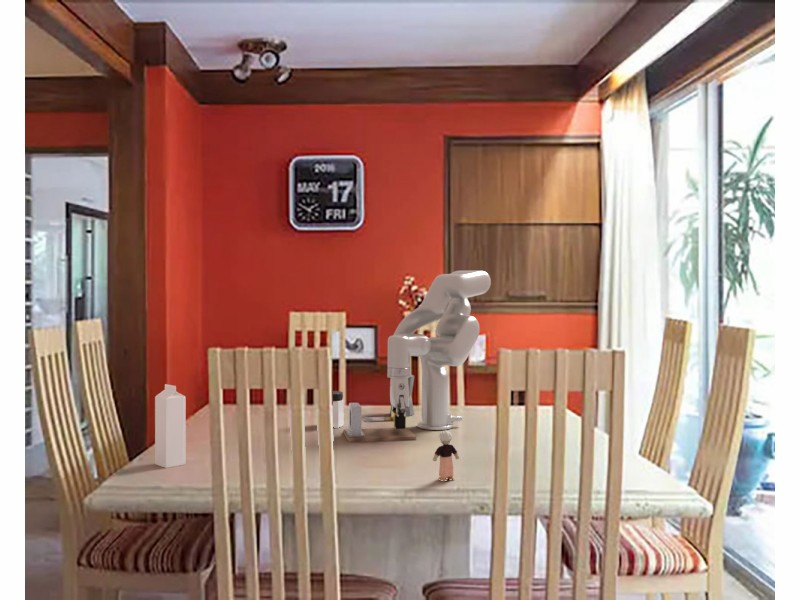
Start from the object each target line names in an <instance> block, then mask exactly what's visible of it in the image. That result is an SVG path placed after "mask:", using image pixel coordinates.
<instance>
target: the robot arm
mask: <svg viewBox="0 0 800 600" xmlns="http://www.w3.org/2000/svg"><path fill="white" fill-rule="evenodd" d="M491 281H492V280H491V277H490V274H489V273H488V272H486V271H484V270H473V269H472V270H455V271H452V272H451V273H442V274H439V275H437V276H436V277H435V278H433V281H432V283H431V285H430V287H429V288H428V290H427V293H426V295H425V296H424V298H423V300H422V302H421V304H420V305H419V306H418V307H417V308H415V309H413V310H412V311H411V312H410V313H409V314H407V316H404V317H403V319H402V320H401V321H400V322H399V323H398V326H397V327H396V328H395V331H394V333H393V335H389V337H388V338H387V373H386V375H387V378H390V381H389V397H390V398H389V401H390V402H389V403H390V405H392V411H396V414H397V416H396V429H405V428H406V427H405V419H406V420H407V416H405V407H406V408H408V407H409V385H408V378H409V377H410V375H411V357H420V358H419V359H420V365H421V421H418V422H417V424H416V427H417V428H419V429H422V430H427V431H428V430H429V431H442V430H443V431H447V430H450V429H453V427H454V424H453V423H454V422H456V423H457V422H459V423H461V422H462V421H463V416H462V415H452V414H451V413H450V376H449V371H448V370H447V367H446V366H449V367H460V366H461V365H463V364H464V363H465V361H467V359H468V357H469V355H470V353H471V351H472V350H473V348H474V346H475V344H476V342H477V340H478V339H479V335H480V323H479V320H478V319H477V318H476V317H475V316H472V315H471V311H472V307H471V303H470V301H469V299H468V298H472V297H476V296H480V295H481V296H482V295H484V294H486V293H487V292H488V291H489V289H490V288H491V284H492V282H491ZM437 321H438V322H437ZM434 322H437V324H436V327H435V335H437V336H432V337H428V336H427V335H424V334H419V333H415V332H416V331H417V330H420V329H421V328H422V327H424V326H428V325H431V324H432V323H434ZM398 406H399V407H398ZM398 410H399V411H398Z"/></svg>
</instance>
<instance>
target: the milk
mask: <svg viewBox="0 0 800 600" xmlns="http://www.w3.org/2000/svg"><path fill="white" fill-rule="evenodd" d="M186 406H187V405H186V396H185V395H184V394H182V393H180V392H178V391H177V386H176V385H172V384H167V383H165V384H164V389H163V390H162V391H161V392H160V393H158V394H156V396H155V397H154V431H155V433H154V459H155V460H154V465H156V466H159V467H162V468H165V469H169V468H174V467H178V466H179V467H180V466H185V465H186V452H187V451H186V448H187V447H186V442H187V441H186V439H187V438H186V428H187V427H186V420H187V419H186V418H187V417H186V413H187V412H186Z"/></svg>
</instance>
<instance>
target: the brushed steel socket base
mask: <svg viewBox="0 0 800 600" xmlns="http://www.w3.org/2000/svg"><path fill="white" fill-rule="evenodd" d="M361 429H362V406H361V405H360V403H359V402H349V403H348V428H346V429H345V430H346V433H347V434H348V436H349V437H365V435H364V433H363V432H362V430H361Z"/></svg>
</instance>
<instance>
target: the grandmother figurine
mask: <svg viewBox="0 0 800 600" xmlns="http://www.w3.org/2000/svg"><path fill="white" fill-rule="evenodd" d="M438 436H439V441H440V443H441V445H440V446H438V447H437V448H436V450H435V452H434V455H433V457H432V461H433V462H436V461H438V458H439V469H438V476H439V477H438V479H440V480H443V481H445V480H448V479H454V480H455V477H454V462H453V456H454V458H455V459H456V460H459V459H460V456H459V454H458V451H457V449H456V448H455V446H454V445H453V444H450V443H451V441H452V440H453V436H452V433H451V432H450V431H449V430H443V431H441V432H440V433H439V435H438ZM452 455H453V456H452ZM446 478H448V479H446Z"/></svg>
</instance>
